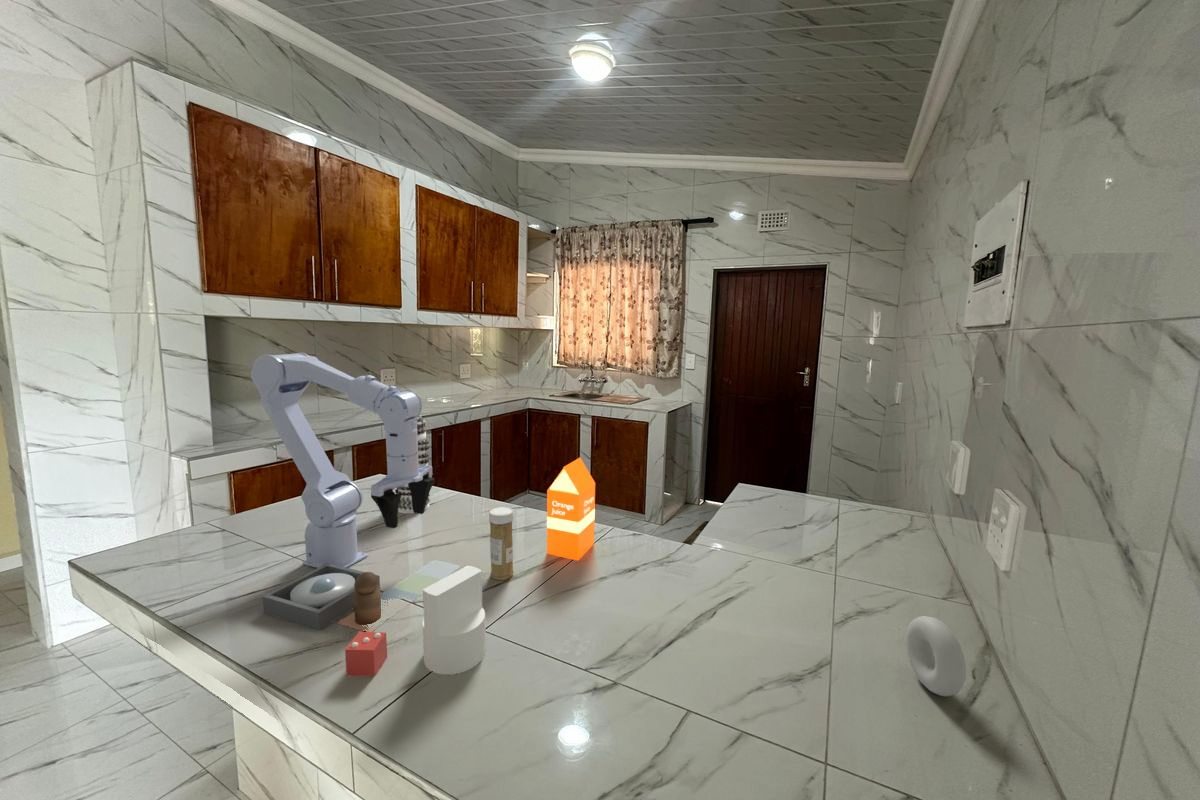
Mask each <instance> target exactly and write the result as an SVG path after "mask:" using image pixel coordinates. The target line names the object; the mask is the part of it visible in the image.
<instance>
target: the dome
mask: <svg viewBox="0 0 1200 800" xmlns="http://www.w3.org/2000/svg"><path fill="white" fill-rule="evenodd" d="M354 584H355V579H354V578H353V577H352V576H351V575H348V574H343V573H330V574H324V575H319V576H316V577H313V578H310V579H307V580H305V581H303V582H301V583H300V584H298V585H297V586H295V587H294V588H293V589H292V591H291V593H290V599H291V601H292V602H296V603H299V604H303V605H306V606H310V607H313V608H316V609H320V608H322V607H324V606H325V605H327V604H329V603H330V602H332V601H334V600H335V599H337V598H339V597H340V596H342V595H344V594H345V593H347V592H349V591H350V590H352V589H354V588H355V587H354Z"/></svg>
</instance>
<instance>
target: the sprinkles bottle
mask: <svg viewBox="0 0 1200 800" xmlns="http://www.w3.org/2000/svg"><path fill="white" fill-rule="evenodd" d="M488 515H489V516H488V517H489V518H488V519H489V521H488V522H489V524H490V525H489V526H490V527H489V528H490V532H489V533H490V534H489V541H490V542H489V546H490V547H489V548H490V551H489V553H490V577H491V579H494V580H496V581H503V580H504V581H505V580H508V579H510V578H511V577H512V576H513V575H514V568H513V567H514V566H513V565H514V564H513V563H514V562H513V561H514V553H513V551H514V550H513V544H514V543H513V540H514V539H513V520H514V511H513V509H512V508H510V507H504V506H503V507H500V506H499V507H495V508H492V509H491V510H490V511H489V514H488Z"/></svg>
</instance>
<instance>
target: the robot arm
mask: <svg viewBox="0 0 1200 800" xmlns="http://www.w3.org/2000/svg"><path fill="white" fill-rule="evenodd" d="M249 376H250V378H251V381H252V382H253V383H254V386H255V387H256V388H257V390H258V393H259V396H260V400H261V405H262V407H263V410H264V411H265V413H266V415H267V417H268V418H269V420H270V422H271V423H272V425H273V427H274V429H275V430H276V432H277V434H278V436H279V438H280V439H281V441H282V443H283V444H284V446H285V448H286V450H287V451H288V453H289V455H290V457H291V459H292V460H293V462H294V464H295V465H296V467H297V469H298V471H299V472H300V474H301V476H302V478H303V480H304V481H305V483H306V485H305V488H304V489H303V492H302V494H301V496H300V497H301V498H300V499H301V500H302V502H303V504H304V508H305V514H306V517H307V519H308V521H309V522H308V524H307V525H306V527H305V530H304V543H305V544H304V545H305V556H306V557H305V558H306V559H305V560H303V561H302V564H303V565H305V566H308V567H313V568H315V569H317V568H319V567H321V566H323V565H325V564H327V563H330V564H334V565H338V566H342V567H346V568H350V566H353V565H354V564H356V563H358V562H359V561H361V560H364V559H365V558H367V557H368V556H369V555H368V553H366V552H362V551H358V550H359V549H358V537H357V536H358V535H357V534H358V532H357V515H358V509H360V507H361V506H362V504H363V493H362V491H361V489H360V487H358V486H357V485H356V484H355V483H354V482H352V480H351V479H350V477H349V475H348V474H345V473H344V472H340V471H337V470H335V468H334V466H333V464H332V463H331V461H330V459H329V457H328V456H327V454H326V451H324V448H323V446H322V445H321V443H320V441H319V440H318V438H317V436H316V434H315V433H314V431H313V429H312V428H311V427H312V426H311V425H310V424H309V422H308V420H307V418H306V417H305V415H304V413H303V411H302V409H301V407H300V406H299V404H298V401H299V399H300V396H301V395H303V393H304V392H305V390H306V389H307V388H308V386H309V385H310V383H311V382H313V383H316V384H318V385H321V386H324V387H326V388H330V389H333V390H336V391H338V392H339V393H342V394H346V396H347V399H348V401H349V402H350V403H351V404H354V405H357V406H358V407H361V408H363V409H365V410H368V411H370V412H371V413H375V414H377V415H378V417H379V418H380V420H381V421H382V423H383V428H384V429H383V430H385V446H386V463H387V464H386V467H387V475H386V476H384V477H383V478H381V479H380V480H379V481H377V482H376V483H374V484H371V485H370V487H371V488H370V489H371V493H370V497H371V499H372V500H373V502H374V503H375V504H376V506H377V507H378V509H379V511H380V513H381V516H382V519H383V521H384V524H385V527H387V528H389V529H396V528H397V527H398V522H399V519H398V517H399V512H398V507H399V502H400V499H401V496H402V495H400V494H396V493H395V491H394V490H396V489H397V488H398V487H401V486H403V485H406V484H408V486H409V489H410V492H411V497H412V507H413V511H414V513H413V514H417V515H418V514H419V515H423V514H424V513H425V511H426V510H425V506H426V501H427V498H429V497H428V495H429V494H430V492H431V490H432V487H433V486H434V484H435V478H434V477H431V476H433V466H432V465H424V466H420V467H419V461H418V435H417V416H418V415H420V414H421V413H422V409H423V403H422V400H421V398H420V396H419V395H418V394H417V393H415V392H413V390H411V389H403V390H400V391H399V390H398V387H397V386H395V385H390V386H389V385H387V384H384V383H382V382H380V381H378V380H376V376H373V375H371V374H368V375H360V376H357V377H353V376H351V375H349V374H347V373H346V372H343V371H341V370H338V369H337V368H335V367H333V366H331V365H329V364H327V363H325V362H323V361H321V360H319V359H318V358H317V357H316V356H312V355H309V354H307V353H304V352H294V353H287V354H286V353H285V354H274V355H272V354H263V355H262V354H261V355H260V356H259V357H257V358H256V360H255V361H254V363H253V365H252V368H251V373H250V375H249ZM415 417H416V418H415ZM326 490H327V491H326Z"/></svg>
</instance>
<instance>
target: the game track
mask: <svg viewBox="0 0 1200 800" xmlns="http://www.w3.org/2000/svg"><path fill="white" fill-rule="evenodd" d="M461 567H462V565H460V564H456V563H451V562H446V561H442V560H437V559H432V560H431V561H429V562H428V563H426V564H425V565H423V566H422V567H420V568H419V569H417V570H415V571H414V572H413V573H411V574H410V575H408V576H407V577H404V578H403V579H402V580H400V581H399V582H397V583H396V584H394V585H392V586H391V587H390V588H388V589H387V590H385V591H384V592H382V593H380V598H381V599H382V600H387V601H388V599H389V600H390V598H391V599H392V600H393V598H394V599H397V598H398V599H402V596H403V597H405V598H406V596H407V599H408V600H409V599H410V600H413V599H414V600H415V601H416V600H417V599H419V598H420V597H423V589H425V588H426V587H428V586H430V585H432V584H434V583H436V582H438V581H440V580H442V579H443V578H445V577H447V576H449V575H451V574H453V573H455V572H457V571H458V570H459V569H460V568H461ZM401 595H402V596H401ZM399 596H400V597H401V598H400V597H399ZM395 597H396V598H395ZM408 597H409V598H408ZM403 599H404V598H403ZM382 602H383V601H382ZM384 603H386V601H385V602H384ZM387 604H388V602H387ZM382 605H383V604H382ZM384 606H385V605H384ZM387 606H388V605H387ZM381 610H382V609H381ZM383 611H384V610H383ZM382 613H383V612H382ZM387 616H388V615H387ZM337 624H338V625H341V626H344V627H347V626H349V627H348V628H352V629H355V630H357V629H358V631H361V630H362V631H361V632H364V631H366V630H367V631H366V632H372V630H373V632H375V630H376V629H375V628H376V627H377V626H376V627H375V626H374V625H373V626H374V627H375V628H374V627H373V626H371V629H372V630H371V629H370V628H369V627H368V625H366V626H367V627H368V628H369V629H370V630H369V629H368V628H367V627H366V626H364V625H363V626H364V627H363V626H362V625H359V624H357V623H356V622H355V611H353V612H352V613H350V614H348V615H347V616H346V617H344V618H343V619H341V620H340V621H338V622H337ZM372 627H373V628H374V629H375V630H374V629H373V628H372ZM365 629H366V630H365ZM363 630H364V631H363Z"/></svg>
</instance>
